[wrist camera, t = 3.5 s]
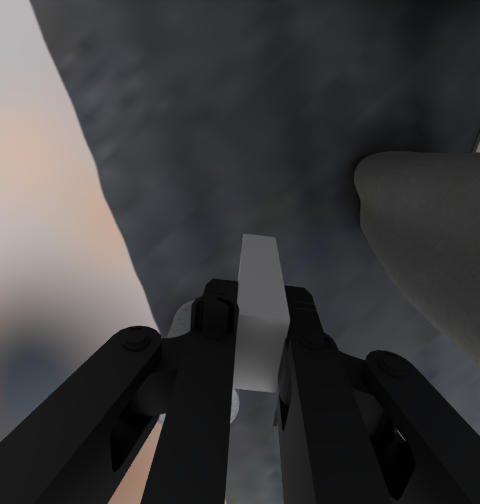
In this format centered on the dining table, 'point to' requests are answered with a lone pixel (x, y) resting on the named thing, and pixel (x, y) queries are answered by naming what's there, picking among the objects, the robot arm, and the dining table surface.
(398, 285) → the vase
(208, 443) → the robot arm
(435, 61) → the dining table surface
